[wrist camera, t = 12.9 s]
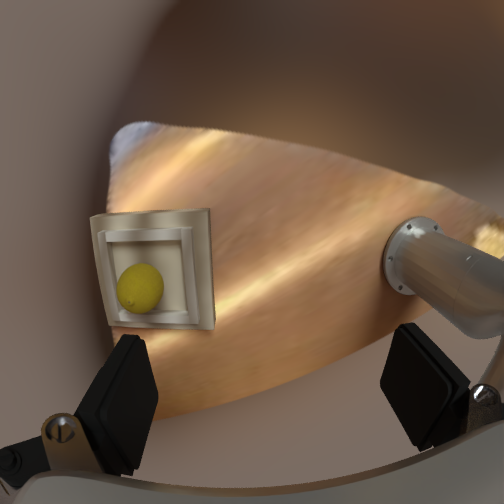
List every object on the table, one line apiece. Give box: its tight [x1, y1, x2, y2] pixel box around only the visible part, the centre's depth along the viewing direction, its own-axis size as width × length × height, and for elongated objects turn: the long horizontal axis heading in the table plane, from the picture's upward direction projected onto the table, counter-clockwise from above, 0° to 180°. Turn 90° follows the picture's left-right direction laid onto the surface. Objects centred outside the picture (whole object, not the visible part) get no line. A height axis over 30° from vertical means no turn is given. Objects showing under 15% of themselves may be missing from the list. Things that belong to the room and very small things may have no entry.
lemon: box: [116, 263, 164, 314], centre depth 31 cm, size 6×6×8 cm
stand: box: [90, 208, 216, 330], centre depth 36 cm, size 16×16×4 cm
